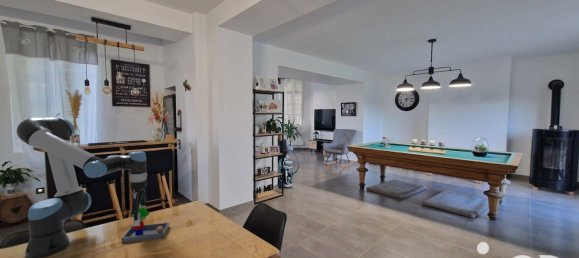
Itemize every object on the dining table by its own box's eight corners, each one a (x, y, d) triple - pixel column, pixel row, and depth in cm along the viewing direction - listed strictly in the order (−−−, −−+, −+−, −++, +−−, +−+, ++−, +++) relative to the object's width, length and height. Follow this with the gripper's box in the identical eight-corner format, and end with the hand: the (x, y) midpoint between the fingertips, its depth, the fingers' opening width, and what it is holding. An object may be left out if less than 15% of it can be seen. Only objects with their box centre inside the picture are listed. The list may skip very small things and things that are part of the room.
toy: (143, 239, 126) (143, 211, 125) (128, 238, 126) (128, 210, 125) (152, 231, 134) (152, 205, 133) (138, 230, 134) (138, 204, 133)
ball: (155, 234, 131) (155, 228, 130) (157, 231, 134) (157, 225, 134) (162, 233, 131) (162, 227, 131) (164, 230, 135) (164, 224, 135)
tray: (121, 244, 122) (121, 238, 122) (131, 231, 135) (131, 226, 135) (163, 238, 127) (163, 233, 127) (168, 227, 140) (168, 222, 140)
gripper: (139, 186, 118) (141, 230, 120) (152, 174, 140) (153, 212, 142) (122, 187, 116) (123, 232, 118) (137, 175, 138) (139, 213, 140)
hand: (140, 221), depth 130 cm, fingers open, 10 cm apart
